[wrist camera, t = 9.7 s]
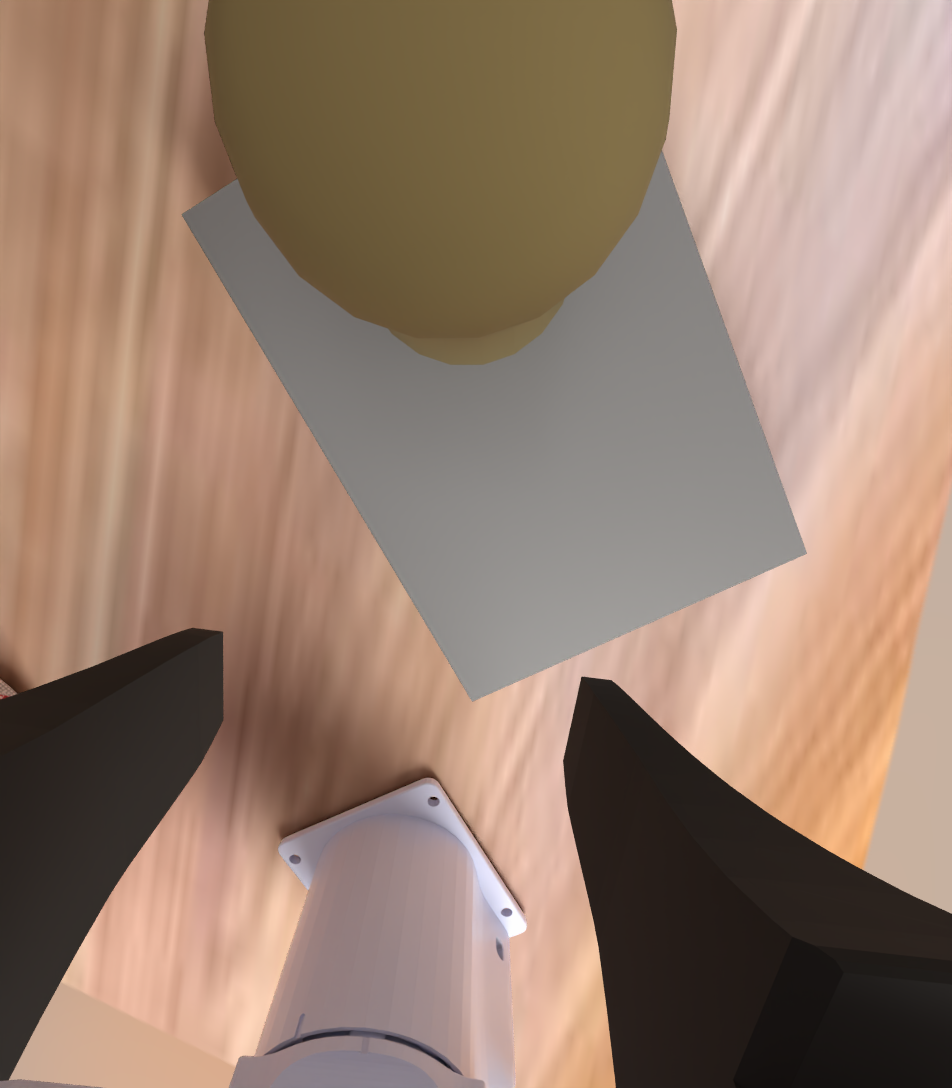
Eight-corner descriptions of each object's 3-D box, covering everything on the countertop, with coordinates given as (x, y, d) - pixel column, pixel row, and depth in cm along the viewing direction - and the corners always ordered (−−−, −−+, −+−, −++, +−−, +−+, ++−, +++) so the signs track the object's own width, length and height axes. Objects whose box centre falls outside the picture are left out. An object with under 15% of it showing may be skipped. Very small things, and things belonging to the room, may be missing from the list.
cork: (332, 143, 15) (-26, -373, 4) (564, 98, 14) (777, -580, 4) (380, 382, 17) (209, 419, 6) (587, 347, 16) (775, 326, 6)
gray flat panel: (762, 526, 21) (806, 553, 18) (473, 658, 23) (472, 701, 20) (571, 22, 16) (590, -49, 14) (228, 237, 18) (181, 214, 15)
